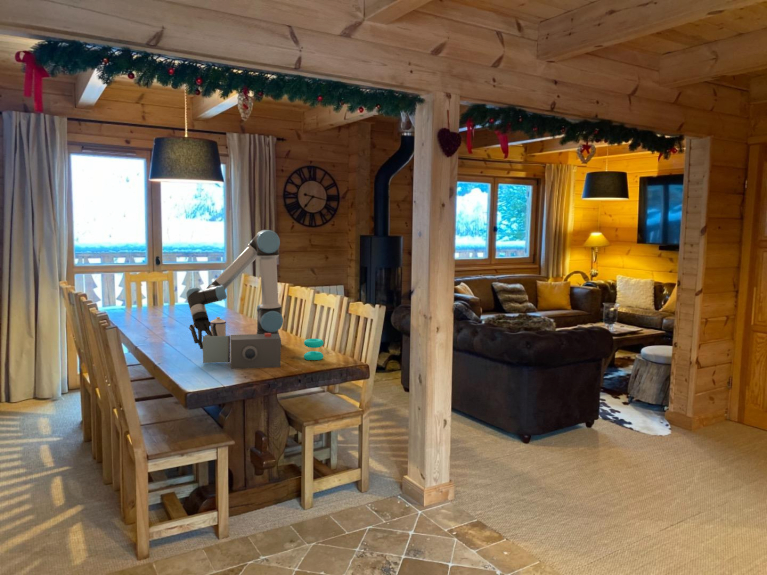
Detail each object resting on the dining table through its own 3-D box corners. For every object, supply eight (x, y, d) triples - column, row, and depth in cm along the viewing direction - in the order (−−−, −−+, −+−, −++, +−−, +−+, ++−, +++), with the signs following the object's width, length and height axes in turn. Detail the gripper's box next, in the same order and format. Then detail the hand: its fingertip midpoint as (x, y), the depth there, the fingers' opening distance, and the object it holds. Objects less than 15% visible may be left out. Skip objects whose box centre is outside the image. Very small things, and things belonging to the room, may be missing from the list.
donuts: (308, 337, 318) (326, 338, 315) (308, 356, 319) (326, 357, 316) (300, 340, 308) (319, 342, 306) (300, 360, 309) (319, 362, 307)
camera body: (230, 363, 300) (230, 332, 298) (277, 361, 306) (278, 331, 304) (231, 370, 286) (231, 338, 285) (281, 368, 292) (281, 336, 291)
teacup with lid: (224, 334, 370) (223, 315, 368) (227, 337, 362) (227, 317, 361) (203, 335, 364) (203, 316, 363) (207, 338, 356) (207, 318, 355)
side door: (229, 359, 306) (229, 333, 304) (230, 362, 299) (230, 336, 297) (203, 359, 302) (203, 334, 301) (203, 363, 296) (202, 336, 294)
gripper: (213, 318, 319) (224, 356, 307) (180, 320, 309) (190, 359, 297) (217, 309, 314) (228, 347, 302) (184, 311, 304) (194, 350, 292)
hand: (210, 353), depth 300 cm, fingers open, 4 cm apart
